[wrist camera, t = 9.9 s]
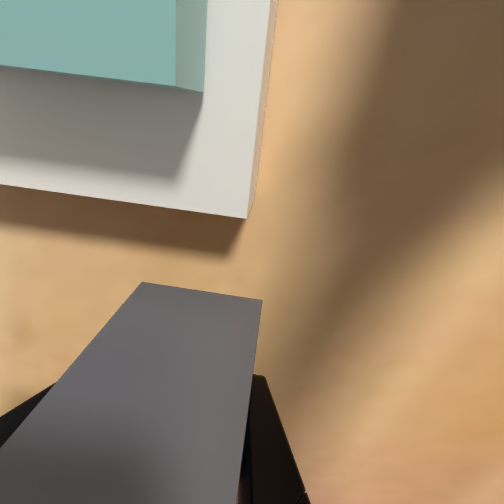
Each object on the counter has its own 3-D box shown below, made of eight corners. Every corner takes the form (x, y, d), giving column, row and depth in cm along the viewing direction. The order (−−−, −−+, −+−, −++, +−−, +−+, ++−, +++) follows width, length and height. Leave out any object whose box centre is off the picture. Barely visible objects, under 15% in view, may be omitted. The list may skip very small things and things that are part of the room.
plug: (262, 300, 10) (170, 999, 2) (249, 388, 12) (171, 954, 4) (141, 281, 10) (-351, 859, 2) (146, 370, 12) (-128, 876, 4)
